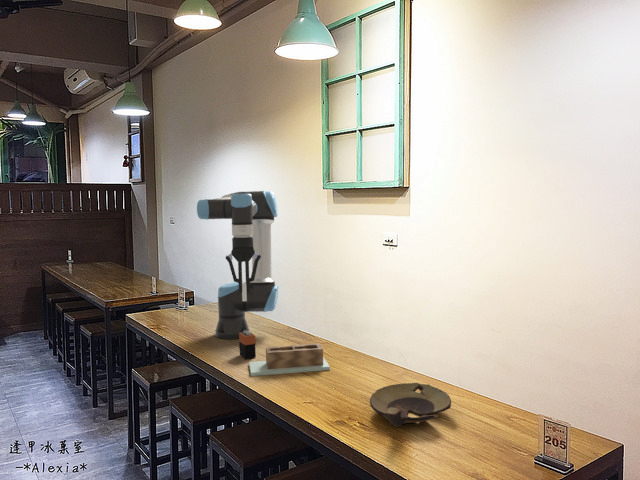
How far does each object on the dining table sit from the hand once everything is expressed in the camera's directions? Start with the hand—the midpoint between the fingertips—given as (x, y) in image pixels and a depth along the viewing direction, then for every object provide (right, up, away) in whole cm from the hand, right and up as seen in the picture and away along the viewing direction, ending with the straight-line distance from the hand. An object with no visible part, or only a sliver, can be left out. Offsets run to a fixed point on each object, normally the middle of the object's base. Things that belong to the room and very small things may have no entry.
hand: (244, 300), depth 195 cm
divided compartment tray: (+18, -23, -1) cm, 30 cm away
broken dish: (+51, -28, -45) cm, 74 cm away
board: (+16, -24, -1) cm, 29 cm away
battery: (-1, -24, +13) cm, 27 cm away
